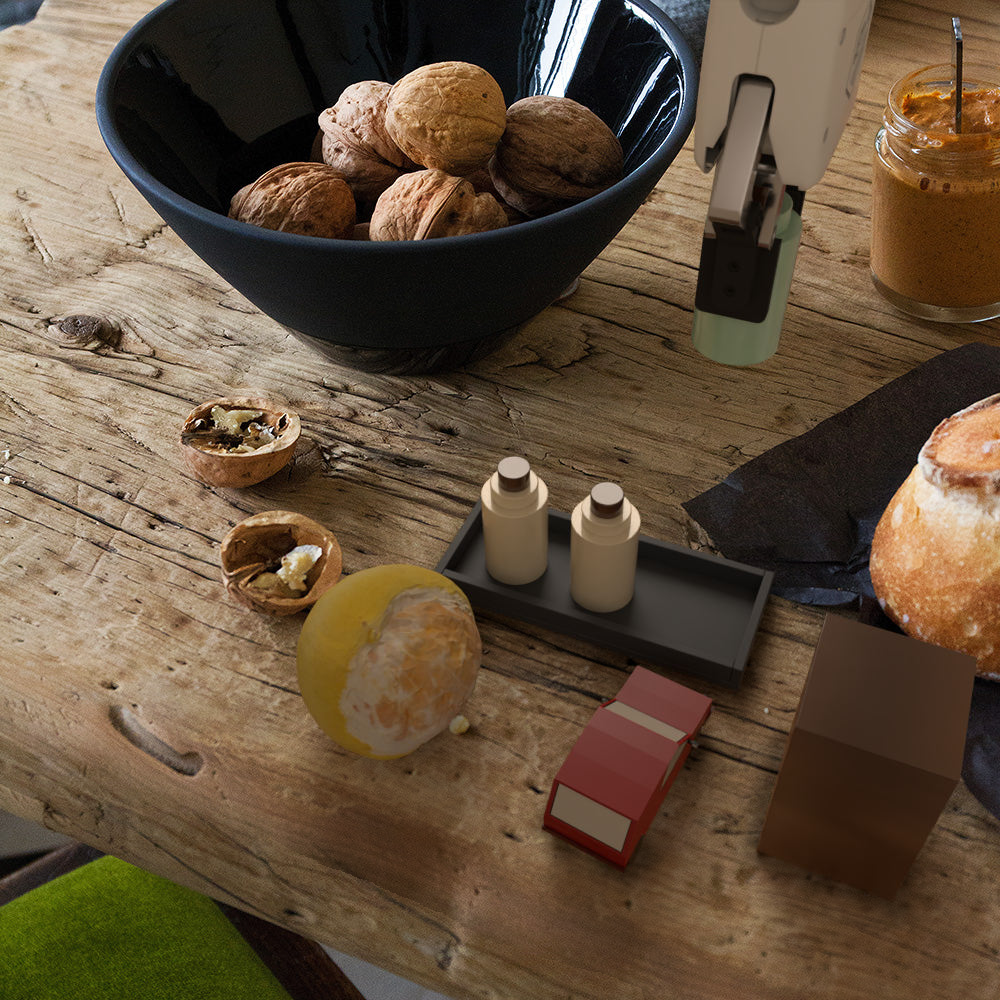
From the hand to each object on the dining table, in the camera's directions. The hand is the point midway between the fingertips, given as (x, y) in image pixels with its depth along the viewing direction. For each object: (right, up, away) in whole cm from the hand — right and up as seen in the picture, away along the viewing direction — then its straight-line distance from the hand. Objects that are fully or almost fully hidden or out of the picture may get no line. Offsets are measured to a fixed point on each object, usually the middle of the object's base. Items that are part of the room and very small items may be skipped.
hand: (744, 280), depth 47 cm
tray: (-5, -16, +20) cm, 26 cm away
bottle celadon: (0, -2, +2) cm, 3 cm away
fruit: (-17, -23, +14) cm, 32 cm away
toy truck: (-4, -26, +10) cm, 28 cm away
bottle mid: (-5, -16, +19) cm, 25 cm away
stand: (+7, -27, +8) cm, 29 cm away
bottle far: (-10, -14, +21) cm, 27 cm away
